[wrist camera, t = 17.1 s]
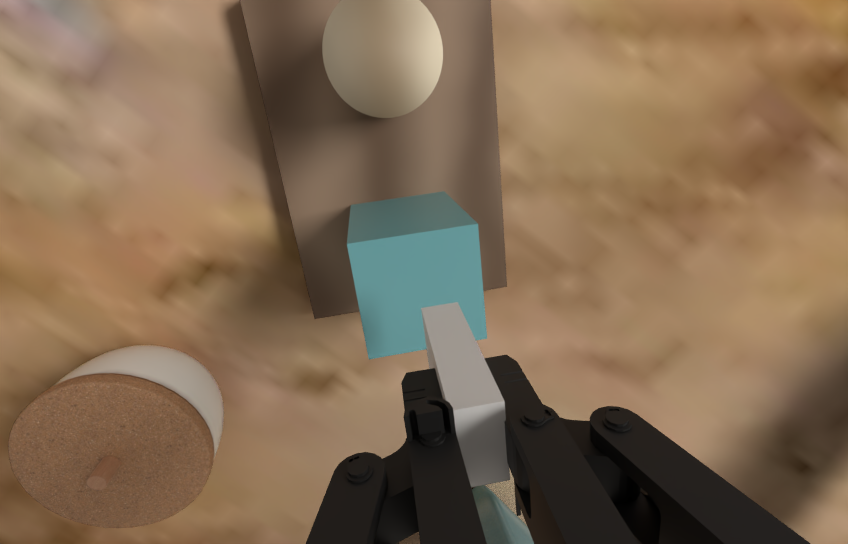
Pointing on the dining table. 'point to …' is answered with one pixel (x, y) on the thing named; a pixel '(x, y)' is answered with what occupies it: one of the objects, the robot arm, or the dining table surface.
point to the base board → (376, 138)
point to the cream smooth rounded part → (382, 55)
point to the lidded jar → (121, 438)
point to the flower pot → (499, 519)
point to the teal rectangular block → (413, 268)
